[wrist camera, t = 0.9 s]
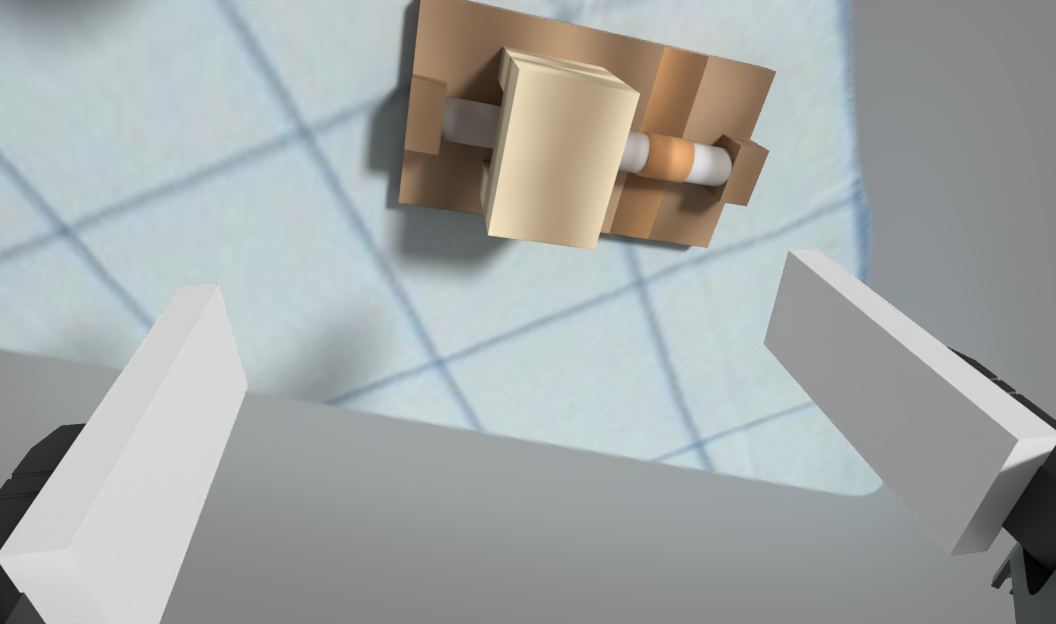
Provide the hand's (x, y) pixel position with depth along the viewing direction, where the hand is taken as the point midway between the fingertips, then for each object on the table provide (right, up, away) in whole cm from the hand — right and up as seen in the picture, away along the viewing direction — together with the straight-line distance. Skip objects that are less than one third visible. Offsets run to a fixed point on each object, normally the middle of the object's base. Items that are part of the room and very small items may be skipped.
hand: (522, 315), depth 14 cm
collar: (+1, +9, +16) cm, 19 cm away
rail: (+3, +10, +18) cm, 21 cm away
